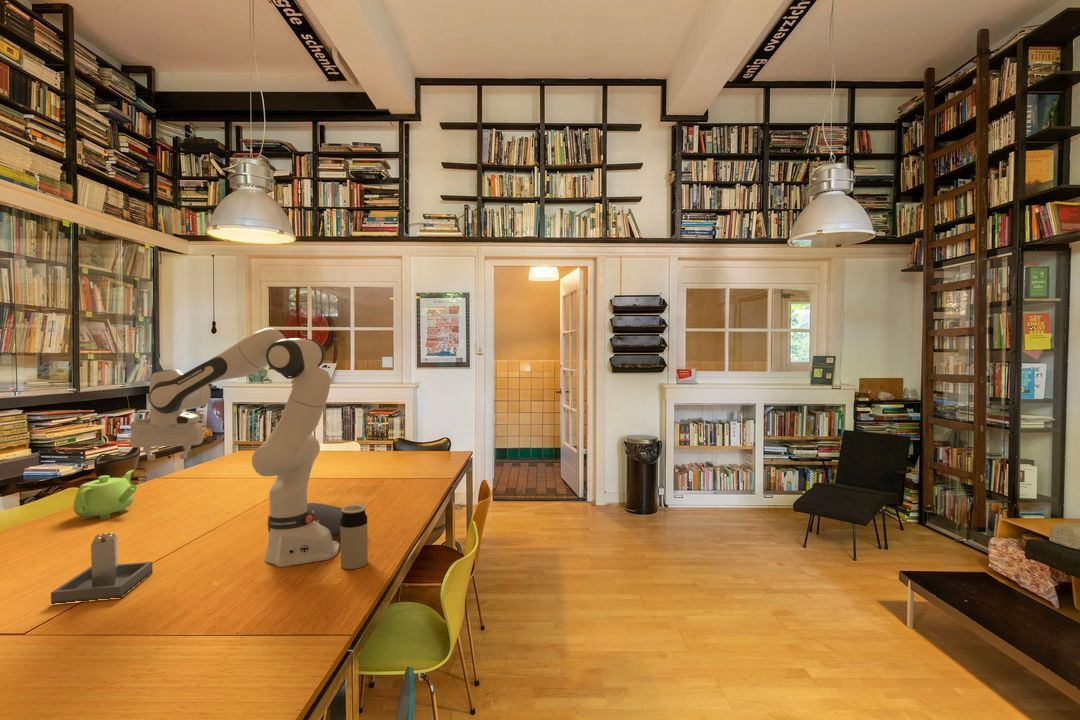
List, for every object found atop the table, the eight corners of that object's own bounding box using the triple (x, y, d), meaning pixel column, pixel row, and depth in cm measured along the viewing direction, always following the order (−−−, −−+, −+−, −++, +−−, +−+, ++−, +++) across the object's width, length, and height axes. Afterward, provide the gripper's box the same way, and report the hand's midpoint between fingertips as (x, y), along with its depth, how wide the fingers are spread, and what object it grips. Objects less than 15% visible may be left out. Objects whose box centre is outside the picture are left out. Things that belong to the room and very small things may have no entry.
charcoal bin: (152, 572, 152) (152, 561, 152) (121, 599, 136) (120, 586, 136) (90, 578, 148) (90, 566, 148) (51, 605, 132) (50, 592, 132)
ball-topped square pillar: (117, 578, 146) (116, 528, 145) (115, 585, 141) (114, 534, 141) (95, 583, 143) (93, 532, 142) (92, 590, 139) (90, 538, 138)
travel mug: (358, 571, 153) (358, 513, 153) (335, 568, 155) (335, 511, 154) (372, 560, 161) (372, 504, 160) (350, 558, 162) (349, 503, 162)
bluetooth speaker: (297, 531, 185) (296, 505, 185) (318, 523, 194) (318, 498, 193) (339, 543, 175) (339, 514, 174) (360, 534, 183) (360, 507, 183)
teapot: (114, 524, 193) (113, 483, 192) (59, 523, 193) (58, 483, 193) (164, 503, 218) (163, 467, 217) (115, 503, 218) (114, 467, 218)
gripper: (125, 420, 161) (126, 463, 161) (196, 418, 165) (197, 459, 166) (136, 417, 167) (137, 458, 167) (204, 415, 172) (205, 455, 172)
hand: (167, 459), depth 167 cm, fingers open, 8 cm apart
